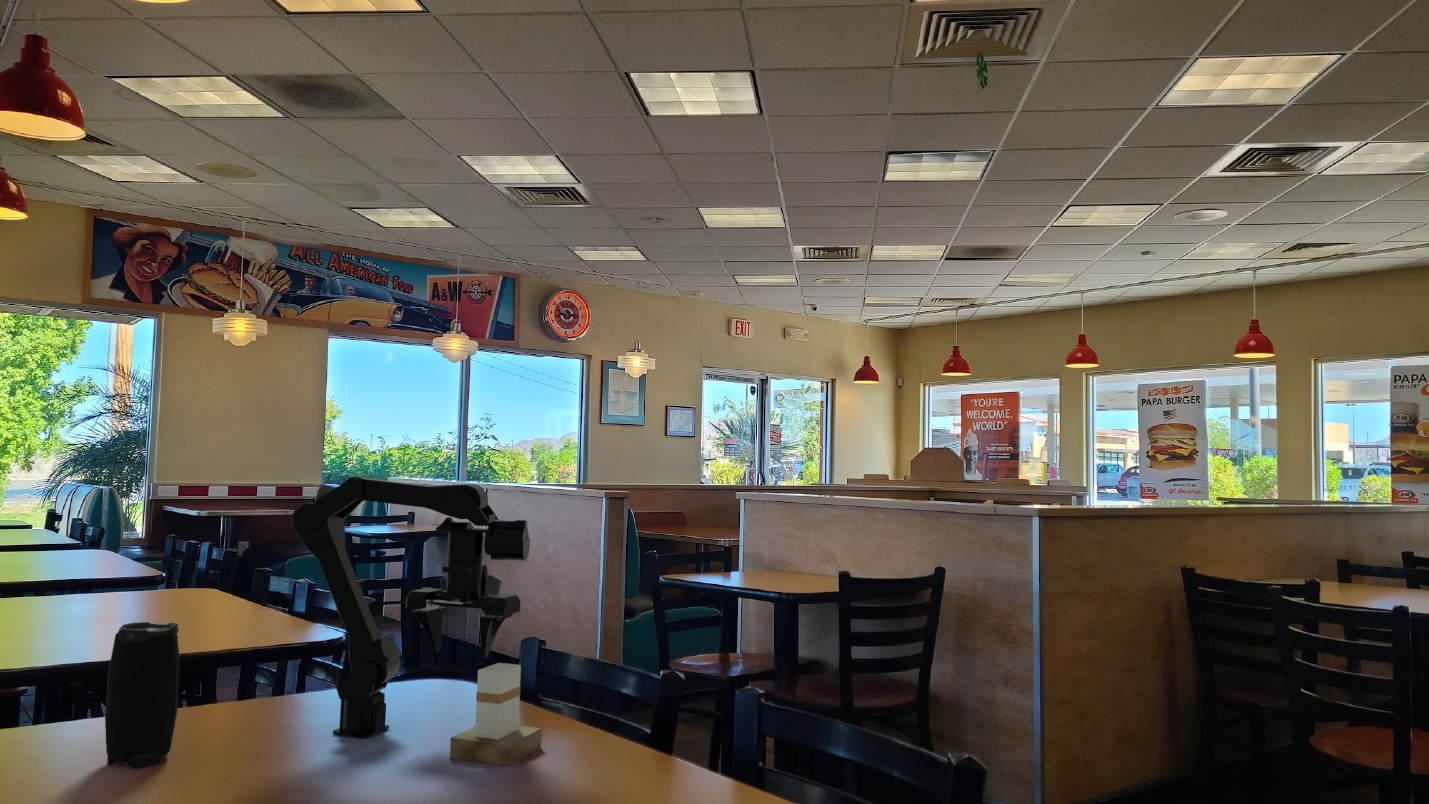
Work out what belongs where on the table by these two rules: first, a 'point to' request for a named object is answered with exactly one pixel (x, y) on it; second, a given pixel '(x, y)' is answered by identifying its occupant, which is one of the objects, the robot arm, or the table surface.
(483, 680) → the carton
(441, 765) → the table surface
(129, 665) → the portable speaker
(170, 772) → the table surface
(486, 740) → the base
